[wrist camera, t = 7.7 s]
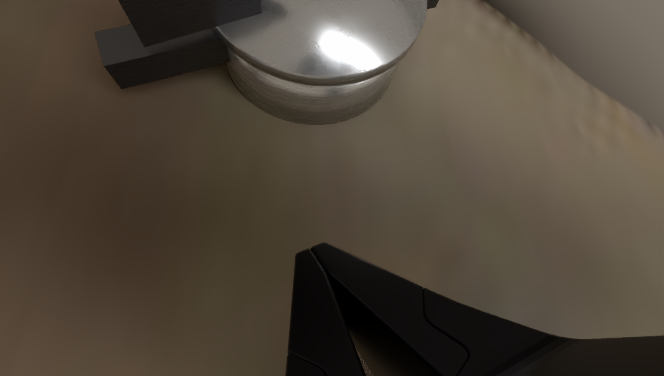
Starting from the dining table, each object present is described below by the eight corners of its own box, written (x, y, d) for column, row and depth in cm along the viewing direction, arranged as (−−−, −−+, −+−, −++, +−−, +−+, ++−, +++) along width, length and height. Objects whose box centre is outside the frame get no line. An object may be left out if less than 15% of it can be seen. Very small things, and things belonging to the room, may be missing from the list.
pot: (454, 85, 28) (487, 41, 24) (159, 180, 22) (125, 147, 18) (382, -32, 32) (398, -90, 27) (111, 23, 26) (73, -38, 21)
